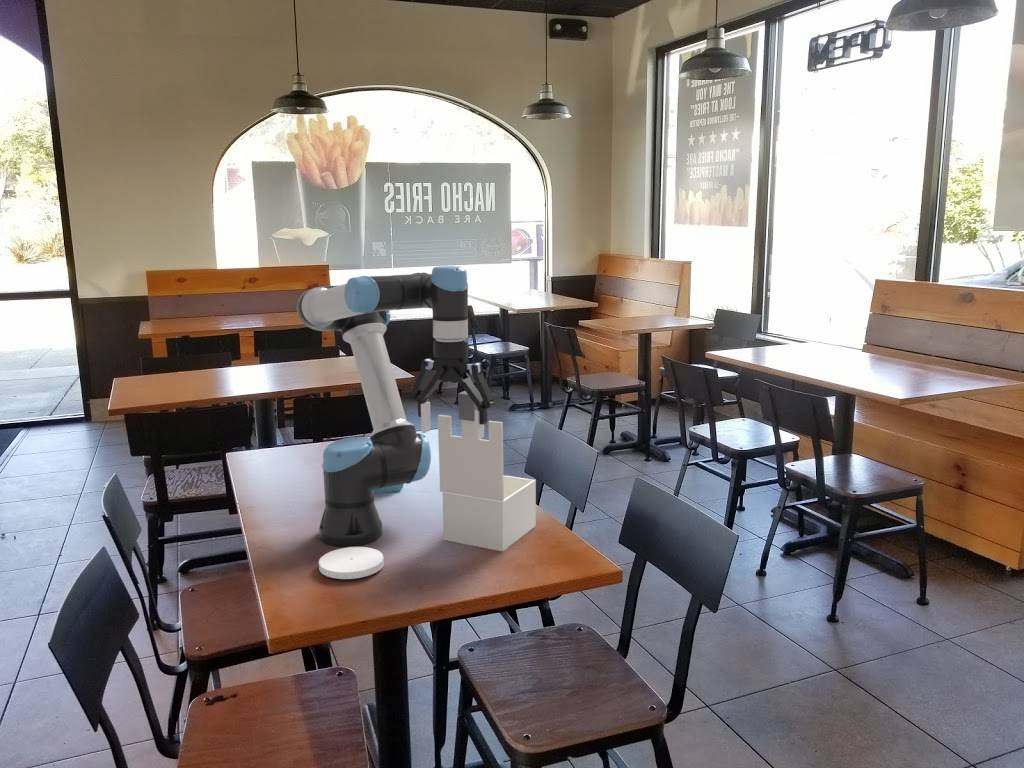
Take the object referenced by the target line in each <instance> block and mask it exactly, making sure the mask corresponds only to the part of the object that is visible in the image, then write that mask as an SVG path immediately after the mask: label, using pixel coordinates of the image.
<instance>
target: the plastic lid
mask: <svg viewBox="0 0 1024 768" xmlns="http://www.w3.org/2000/svg"><path fill="white" fill-rule="evenodd" d="M384 558H385V557H384V554H383V552H381V551H380V550H378V549H375V548H372V547H366V546H347V547H342V548H337V549H335V550H334V549H333V550H330V551H329V552H327V553H325V554H324V555H322V556H321V557H320V558H319V559H318V568H319V572H320V573H321V574H322V575H324V576H325V577H327V578H331V579H338V580H355V579H361V578H364V577H369V576H372V575H374V574H375V573H378V572H379V571H381V569H382V568H384V565H385V562H384V561H385V560H384Z"/></svg>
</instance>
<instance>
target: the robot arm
mask: <svg viewBox="0 0 1024 768" xmlns="http://www.w3.org/2000/svg"><path fill="white" fill-rule="evenodd" d="M468 288H469V284H468V273H467V269H466V268H465V267H464V266H458V265H457V266H455V265H452V266H451V265H449V266H448V265H445V266H443V265H442V266H434V267H433V268H432V270H431V273H427V272H415V273H411V274H395V275H394V274H393V275H374V276H373V275H372V276H368V275H362V276H356V277H351V278H349V279H348V280H347V282H346V283H343V284H341V285H340V284H339V285H322V286H317V287H316V286H315V287H313V288H310V289H308V290H306V291H304V292H303V293H302V294H301V295H300V296H299V298H298V300H297V303H296V313H297V317H298V318H299V320H300V321H301V322H302V324H304V325H305V326H306V327H307V328H309V329H312V330H314V331H317V332H318V331H319V332H340V333H341V337H342V340H343V341H344V342H346V343H347V344H350V347H351V350H352V354H353V357H354V362H355V367H356V369H357V373H358V377H359V380H360V384H361V388H362V392H363V395H364V398H365V403H366V407H367V410H368V414H369V418H370V422H371V426H372V429H373V430H372V432H371V434H370V436H369V437H367V436H355V437H354V436H349V437H344V438H341V439H338V440H334V441H333V442H332V443H331V442H330V443H329V444H328V445H327V446H326V447H325V449H324V450H323V453H322V464H321V466H322V471H323V473H322V474H323V489H324V490H323V491H324V505H325V506H324V509H323V513H322V517H321V520H320V525H319V527H318V532H319V533H318V537H319V540H320V541H321V542H323V543H325V544H328V545H331V546H336V545H337V547H355V546H360V545H366V544H368V543H371V542H374V541H376V540H378V539H379V538H380V537H381V536H382V535H383V523H382V520H381V519H380V515H379V513H378V509H377V507H376V505H375V493H374V490H375V489H380V488H385V487H390V486H395V485H400V484H403V485H404V484H407V485H408V484H409V485H410V484H411V483H413V482H417V481H420V480H422V479H424V478H425V477H426V476H427V475H428V472H429V470H430V466H431V462H432V450H431V446H430V441H429V439H428V438H427V437H426V435H425V434H426V433H428V432H430V431H431V430H432V429H431V428H432V427H431V425H432V423H431V402H430V401H429V398H430V397H431V395H432V394H433V393H434V391H435V390H436V389H437V388H438V386H439V385H440V384H441V383H448V382H450V383H453V384H456V383H458V384H459V386H461V387H462V388H463V390H464V391H466V392H467V394H468V395H469V396H470V398H471V399H472V401H473V402H474V403H475V405H476V406H477V408H478V409H476V410H475V440H479V439H483V438H485V424H488V409H490V408H492V407H495V406H496V400H495V398H494V396H493V394H492V391H491V389H490V387H489V385H488V383H487V380H486V378H485V376H484V373H483V367H482V363H481V362H475V363H469V360H468V359H469V341H468V337H469V327H468V326H469V322H468V321H469V319H468V318H469V317H468V316H469V306H468V305H469V300H468V299H469V295H468V292H469V289H468ZM414 309H416V310H417V309H431V310H432V337H433V339H434V341H433V342H432V343H433V345H432V346H433V347H432V349H433V351H432V353H433V357H434V360H432V358H425V359H422V360H421V364H420V370H419V373H418V376H417V378H416V380H415V383H414V385H413V386H412V387H413V388H412V390H411V392H410V395H409V399H410V400H412V401H415V402H416V403H417V415H418V417H419V418H420V427H421V429H420V430H421V431H420V432H421V433H420V432H418V433H417V431H416V427H415V424H413V423H411V422H410V421H408V420H407V416H406V414H405V409H404V407H403V403H402V402H403V401H402V399H401V396H400V392H399V389H398V385H397V381H396V378H395V375H394V371H393V366H392V363H391V359H390V356H389V352H388V349H387V346H386V341H385V338H384V334H385V333H386V332H387V329H388V327H387V326H388V324H389V323H390V321H391V313H390V311H401V310H414ZM432 369H434V370H435V374H434V375H433V376H432V378H431V380H430V382H429V383H428V384H427V385H426V383H427V381H428V378H429V376H430V374H431V372H432V371H431V370H432ZM468 372H469V373H470V374H471V375H472V378H473V380H474V383H475V384H474V383H473V381H472V378H471V376H470V375H469V374H468ZM425 385H426V387H425ZM475 385H476V386H475Z"/></svg>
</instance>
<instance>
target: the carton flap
mask: <svg viewBox="0 0 1024 768" xmlns="http://www.w3.org/2000/svg"><path fill="white" fill-rule="evenodd" d="M457 403H458V406H457V407H458V420H460V421H461V436H458V435H453V428H452V427H453V426H452V425H453V423H452V416H451V415H445V414H438V415H437V430H438V431H437V432H438V433H437V434H438V435H437V436H438V438H437V439H438V440H437V441H438V466H439V472H438V473H439V492H441V493H443V492H446V493H452V494H458V495H464V496H470V497H476V498H482V499H488V500H494V501H500V502H503V501H504V477H503V475H504V422H503V421H495V420H489V421H488V420H487V424H488V439H483V438H481V439H479V440H475V410H476V409H478V408H477V406H476V405H475V403H474V402H473V401H472V399H471V398H470V396H469V395H468V394H467V392H466V391H465V390H464V391H463V390H462V391H461V392H458V393H457Z"/></svg>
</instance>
